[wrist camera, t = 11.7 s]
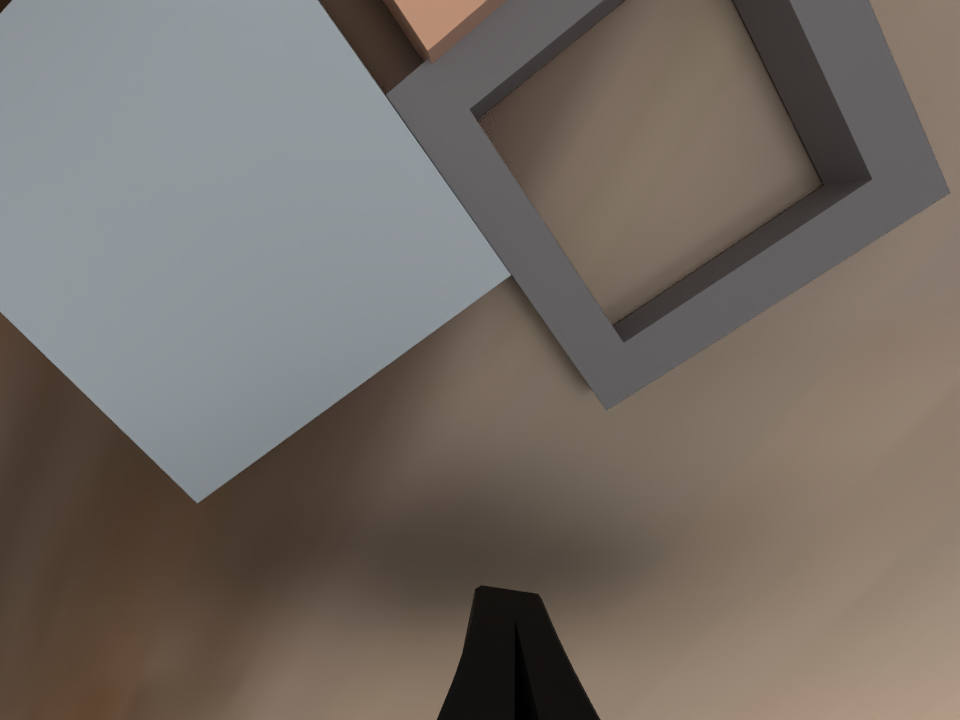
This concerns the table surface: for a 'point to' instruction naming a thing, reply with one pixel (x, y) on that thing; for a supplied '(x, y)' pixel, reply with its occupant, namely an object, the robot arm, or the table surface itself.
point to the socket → (746, 265)
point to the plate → (216, 219)
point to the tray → (439, 22)
